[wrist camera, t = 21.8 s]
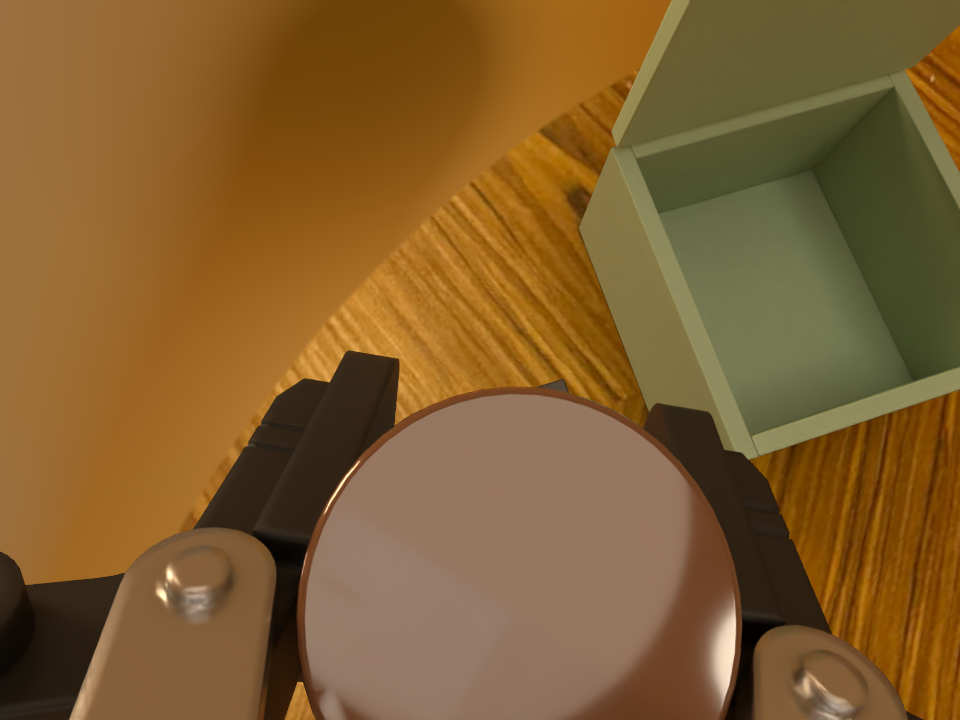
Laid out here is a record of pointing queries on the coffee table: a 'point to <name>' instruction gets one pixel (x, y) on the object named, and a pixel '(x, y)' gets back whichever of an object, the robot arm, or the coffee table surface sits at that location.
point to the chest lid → (770, 56)
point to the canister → (518, 572)
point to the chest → (787, 263)
